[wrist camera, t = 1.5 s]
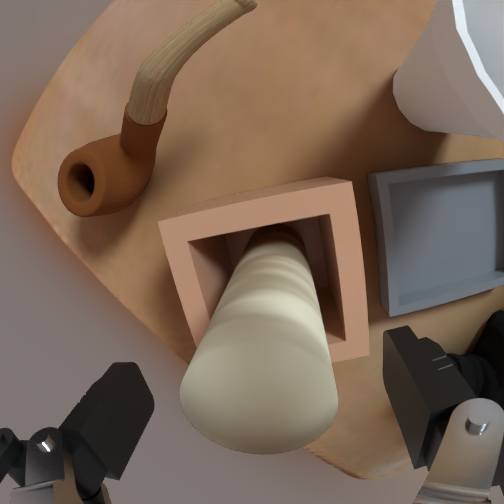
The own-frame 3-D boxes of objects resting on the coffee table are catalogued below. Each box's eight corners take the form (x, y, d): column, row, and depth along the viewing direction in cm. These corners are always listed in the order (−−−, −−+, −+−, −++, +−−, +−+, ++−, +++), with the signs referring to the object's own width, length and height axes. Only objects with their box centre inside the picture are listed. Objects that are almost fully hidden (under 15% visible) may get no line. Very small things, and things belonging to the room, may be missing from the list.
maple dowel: (299, 218, 22) (331, 332, 7) (309, 274, 23) (340, 445, 8) (240, 229, 23) (156, 353, 7) (253, 284, 24) (206, 455, 8)
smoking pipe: (145, 210, 25) (105, 168, 24) (285, 25, 15) (222, -13, 15) (85, 243, 19) (43, 191, 18) (246, -15, 9) (165, -50, 9)
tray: (498, 158, 19) (514, 159, 17) (502, 271, 22) (516, 280, 19) (366, 173, 21) (375, 174, 19) (381, 303, 24) (389, 317, 22)
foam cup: (441, 173, 21) (554, 189, 8) (353, 101, 20) (424, 38, 8) (482, 94, 18) (581, 70, 5) (403, 26, 17) (474, -51, 5)
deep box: (325, 176, 22) (351, 181, 13) (343, 293, 24) (369, 355, 16) (203, 201, 23) (157, 221, 15) (231, 312, 26) (207, 377, 17)
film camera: (459, 292, 23) (511, 339, 15) (514, 310, 23) (560, 349, 14) (392, 412, 27) (412, 472, 19) (451, 415, 27) (475, 464, 19)
